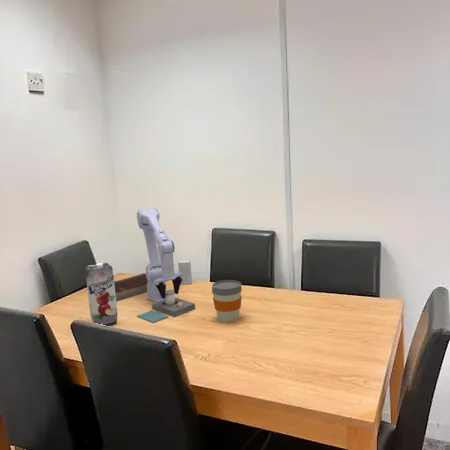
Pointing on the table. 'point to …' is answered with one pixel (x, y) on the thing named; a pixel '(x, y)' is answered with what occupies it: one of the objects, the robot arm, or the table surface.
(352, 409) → the table surface
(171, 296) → the filter cartridge
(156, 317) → the mat
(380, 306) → the table surface
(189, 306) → the grey board with holes
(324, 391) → the table surface
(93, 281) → the juice carton
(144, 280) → the hardback book
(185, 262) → the skincare box
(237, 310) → the reusable coffee cup
